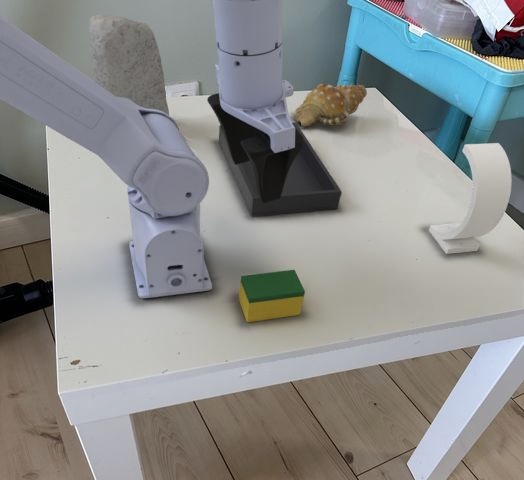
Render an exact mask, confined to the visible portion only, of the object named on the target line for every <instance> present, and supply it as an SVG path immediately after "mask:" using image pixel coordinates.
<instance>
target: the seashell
mask: <svg viewBox="0 0 524 480" xmlns="http://www.w3.org/2000/svg"><path fill="white" fill-rule="evenodd" d="M367 94H368V92H367V88H366V87H365V86H364V85H362V84H357V85H355V84H348V85H346V84H343V85H341V84H337V86H333V85H331V84H327V85H326V84H325V83H320V84H318V85H317V87H314V88H313V89H312V90H311V91H310V92H308V93H307V95H306V96H305V98H304V99H303V102H302V103H301V104H300V105H299V106H298V107H297V108H296V109H295V111H294V116H293V118H294V120H295V121H296V123H297V124H301V125H300V126H301V127H305V128H306V127H308V126H311V125H313V124H314V123H317V122H322V123H323V124H324V125H329V126H339V125H344V124H345V122H346V120H347V119H348V118H349V115H352V114H354V113H356V111H358V109H359V105H360V104H361V103H363V101H364V99H365V97H366V96H367Z"/></svg>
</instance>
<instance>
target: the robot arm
mask: <svg viewBox="0 0 524 480" xmlns="http://www.w3.org/2000/svg"><path fill="white" fill-rule="evenodd" d="M211 1H212V13H213V21H214V22H213V23H214V32H215V41H216V43H215V45H216V52H217V53H216V55H217V63H215V64H214V65H215V66H214V67H215V78H216V84H217V85H218V93H214V94H211V95H209V96H208V97H207V99H206V100H207V103H208V104H209V107H210V108H211V109H212V110H213V113H214V115H215V117H216V118H217V120H218V123H219V126H220V125H221V127H222V130H223V133H224V136H225V139H226V142H227V146H228V149H229V152H230V155H231V158H232V160H233V162H234V163H235V165H237V164H240V163H244V162H247V161H250V162H251V165H252V168H253V171H254V175H255V180H256V186H257V191H258V194H259V197H260V199H261V201H262V202H263V203H266V202H269V201H273V200H276V199H279V198H280V197H281V194H282V191H283V188H284V184H285V181H286V177H287V174H288V171H289V169H290V167H291V164H292V163H293V161H294V159H295V157H296V156H297V154H298V153H299V151H300V150H301V149H302V148H303V144H304V138H303V136H302V135H301V134H300V133H299V132H298V131H297V130H295V127H294V125H293V124H292V123H293V122H292V121H291V118H290V114H289V108H288V104H287V99H286V98H289V97H293V95H294V88H295V87H294V85H292V84H291V83H290V82H289V81H288V80H285V79H283V0H211ZM0 100H2V101H3V102H5V103H6V104H8V105H10V106H12V107H13V108H14V109H16V110H18V111H21V112H22V113H23V114H25V115H26V116H27V115H28V116H29V117H30V118H32V119H34V120H36V121H38V122H39V123H41V124H43V125H44V126H46V127H48V128H50V129H52V130H53V131H55V132H57V133H58V134H60V135H61V136H64V137H65V138H67V139H68V140H70V141H71V142H74V143H76V144H78V145H79V146H81V147H83V148H84V149H86V150H87V151H89V152H91V153H93V154H95V155H96V156H98V157H99V158H100V159H101V161H103V162H104V163H105V165H107V167H108V168H109V169H110V170H111V171H112V172H113V173H114V174H115V175H116V177H118V178H119V179H120V180H121V181H122V182H123V183H124V184H125V185H126V186H127V189H126V191H127V200H128V207H129V217H130V224H131V230H132V231H131V232H132V240H131V241H129V243H128V247H129V251H130V252H129V253H130V257H131V262H132V268H133V275H134V279H135V285H136V290H137V296H138V298H140V299H150V298H158V297H168V296H174V295H175V296H176V295H182V294H190V293H191V294H192V293H199V292H207V291H211V290H212V289H213V284H212V281H211V277H210V274H209V270H208V268H207V264H206V261H205V259H204V251H205V250H204V248H205V247H204V242H203V240H202V239H203V238H202V236H201V203H202V202H203V201H204V199H205V197H206V196H207V193H208V190H209V187H210V175H209V172H208V170H207V168H206V166H205V164H204V163H203V161H202V160H201V159H200V158H199V157H197V156H196V154H195V152H194V150H193V149H192V148H191V146H190V145H189V143H188V142H187V140H186V139H185V137H184V135H183V134H182V133H181V132H180V129H179V125H178V124H177V123H176V121H175V120H174V119H173V118H172V117H171V116H170V114H169V115H168V114H166V113H164V112H162V111H160V110H156V109H147V108H143V107H141V106H138V105H137V104H135V103H134V102H132V101H131V100H130V99H128V98H123V97H116V96H114V95H113V94H111V93H110V92H108V91H107V90H106V89H104V88H103V87H101V86H100V85H98V84H97V83H96V82H95V80H93V79H91V78H90V77H89V76H87V75H86V74H84V73H83V72H81V71H80V70H78V69H77V68H76V67H74V66H73V65H72V64H70V63H69V62H67V61H66V60H65V59H63V58H62V57H60V56H59V55H57V54H56V53H54V52H53V51H51V50H50V49H49V48H47V47H45V46H44V45H43V44H41V43H40V42H39V41H37V40H36V39H34V38H33V37H32V36H30V35H29V34H27V33H26V32H24V31H22V30H21V29H20V28H19V27H17V26H16V25H15V24H13V23H11V22H10V21H9V20H7V19H6V18H4V17H3V16H2V15H0ZM255 128H257V129H259V130H261V137H260V136H257V137H255Z"/></svg>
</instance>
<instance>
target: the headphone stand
mask: <svg viewBox="0 0 524 480" xmlns="http://www.w3.org/2000/svg"><path fill="white" fill-rule="evenodd" d="M461 152H462V153H463V154H464V156H465V158H466V159H467V161H468V164H469V167H470V171H471V178H472V179H471V180H472V192H471V199H470V203H469V206H468V210H467V212H466V215H465V216H464V218H463V220H462V221H461V222H452V223H451V222H450V223H439V224H430V226H429V228H428V232H429V234H431V236H432V237H433V238H434V240H435V241H436V242H437V244H438V245H439V247H440V248H441V249H442V250H443V252H444V253H445V254H446V255H449V254H459V253H460V254H461V253H469V252H477V251H479V248H480V244H479V243H478V242H477V240H476V239H475V238H479V237H483V236H485V235H487V234H489V233H490V232H491V231H493V230H494V229H495V228H496V227H497V225H498V224H499V223H500V221H502V218H503V217H504V215H505V213H506V211H507V208H508V205H509V201H510V197H511V192H512V169H511V168H512V167H511V164H510V160H509V157H508V155H507V153H506V151H505V149H504V148H503V146H502V145H501V144H500V143H499V142H493V143H489V142H487V143H466V144H464V146H463V148H462V151H461Z"/></svg>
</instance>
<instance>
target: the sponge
mask: <svg viewBox="0 0 524 480" xmlns="http://www.w3.org/2000/svg"><path fill="white" fill-rule="evenodd" d="M239 282H240V283H239V292H238V293H239V294H238V301H239V304H240V307H241V310H242V312H243V316H244V318H245V321H246V323H251V322H260V321H266V320H275V319H279V318H287V317H295V316H300V315H301V313H302V307H303V304H304V303H303V302H304V299H305V294H306V290H305V288H304V286H303V284H302V282H301V280H300V277H299V276H298V273H297V271H296V269H287V270H278V271H272V272H261V273H254V274H246V275H241V276H240V281H239Z"/></svg>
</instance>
